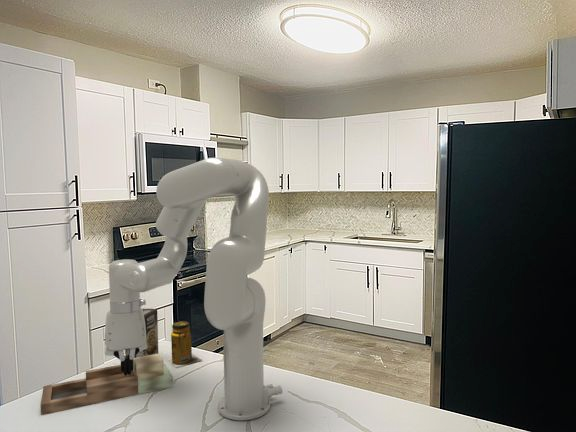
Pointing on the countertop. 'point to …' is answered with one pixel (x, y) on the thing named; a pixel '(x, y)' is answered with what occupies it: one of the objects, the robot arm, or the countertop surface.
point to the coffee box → (149, 334)
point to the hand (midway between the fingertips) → (127, 373)
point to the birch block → (148, 366)
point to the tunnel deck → (100, 388)
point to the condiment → (182, 345)
